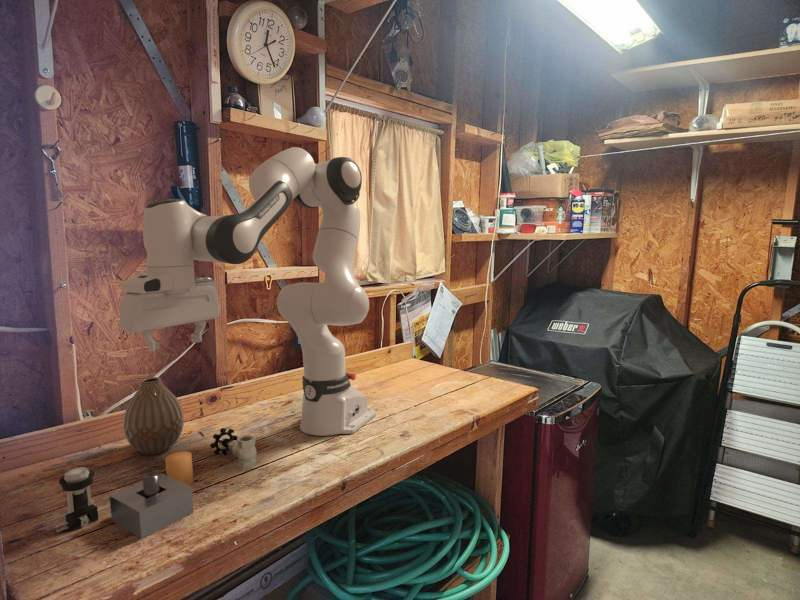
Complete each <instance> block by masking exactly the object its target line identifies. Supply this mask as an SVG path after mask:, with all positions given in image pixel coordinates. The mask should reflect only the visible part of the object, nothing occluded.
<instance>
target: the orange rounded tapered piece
mask: <svg viewBox="0 0 800 600" xmlns="http://www.w3.org/2000/svg"><path fill="white" fill-rule="evenodd" d="M164 460H165V472H166V474H165V475H166V476H169V477H171V478H173V479H175V480H178V481H180V482H182V483H184V484H186V485H189V486H192V485H191V484H192V483H193V484H194V473H193V472H194V471H193V470H194V469H193V457H192V453H191V452H189V451H178V452H177V451H175V452H173V453H170V454H169V455H167V456H166V457H165V459H164Z"/></svg>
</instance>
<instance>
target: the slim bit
mask: <svg viewBox="0 0 800 600" xmlns="http://www.w3.org/2000/svg"><path fill="white" fill-rule="evenodd" d="M158 475H159V473H158V472H150V473H146V474H144V475H143V476H142V481H143V490H144V498H146V499H148V498H150V497H152V496H154V495H156V494H158V493H160V490H159V478H158Z"/></svg>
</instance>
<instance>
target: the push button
mask: <svg viewBox="0 0 800 600" xmlns="http://www.w3.org/2000/svg"><path fill="white" fill-rule="evenodd" d="M94 477H95V471H93V470H91V469H89V468H88V467H85V466H84V467H83V466H80V467H79V466H78V467H75V468H72V469H69V470H67V471H66V472H65V473H64V476H62V477H60V478H59V480H58V483H59V485H60V486H61V489H62V491H64V492H66V500H67V510H66V513H65V514H64V516H63V517H64V521H62V522H61V523H57V524H55V527H56V528H58V529H56V530H55V531H56V533H59V532H61V531H64V530H69V531H73V530H76V529H78V528H81V527H85V526H87V525H88V524H89V523H92V522H93V523H94V522H97V521H99V509H98V506H96V505H95V504H94V501H93V500H92V494H91V493H92V492H91V485H92V484H93V483H94ZM59 527H60V528H59Z"/></svg>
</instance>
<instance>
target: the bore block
mask: <svg viewBox="0 0 800 600" xmlns="http://www.w3.org/2000/svg"><path fill="white" fill-rule="evenodd" d="M158 478H159V490H160V493H158V494H156V495H154V496H152V497H150V498H148V499H146V498H144V490H143V480H142V481H140V482H138V483H136V484H132V485H131V486H128V487H126V488H123V489H122V490H119V491H117V492H114V493H112V494H110V495H109V503H110V512H111V513H110V514H111V522H113V523H114V524H115V525H118V526H119V527H121V528H122V529H124V530H126V531H128V532H130V533H131V534H133V535H134V536H136V537H138V538H139V539H141V540H143V539H144V538H145V539H146V538H148V537H149V536H151V535H153V534H154V533H156V532H159V531H160V530H162V529H164V528H165V527H168V526H169V525H171V524H173V523H175V522H178V521H179V520H182V519H183V518H184V517H186V516H189V515H190V514H192V513H194V499H193V487H192V485H190V486H189V485H186V484H184V483H182V482H180V481H178V480H175V479H173V478H171V477H169V476H167V474H164V473H163V472H162V473H158Z"/></svg>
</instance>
